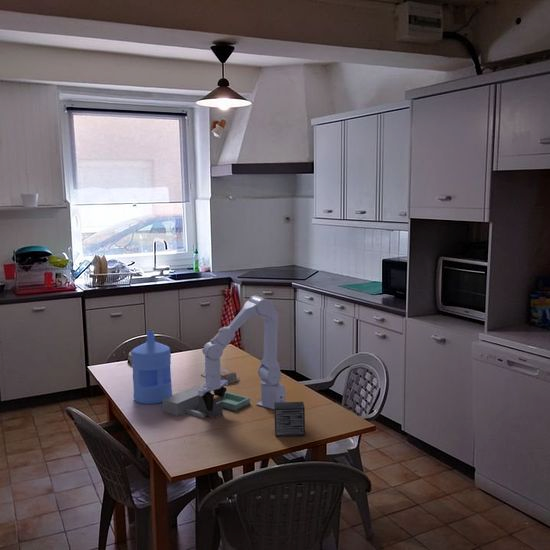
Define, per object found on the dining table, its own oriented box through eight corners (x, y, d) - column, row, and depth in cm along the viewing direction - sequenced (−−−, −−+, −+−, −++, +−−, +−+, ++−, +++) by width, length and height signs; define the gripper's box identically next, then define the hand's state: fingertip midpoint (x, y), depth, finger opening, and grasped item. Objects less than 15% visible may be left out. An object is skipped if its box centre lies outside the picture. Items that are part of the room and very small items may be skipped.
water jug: (127, 397, 240) (123, 331, 236) (160, 388, 250) (158, 325, 246) (144, 407, 228) (141, 339, 224) (179, 398, 238) (177, 332, 234)
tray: (250, 404, 231) (249, 398, 231) (235, 411, 224) (235, 404, 223) (226, 397, 238) (226, 391, 238) (211, 404, 231) (211, 398, 231)
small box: (303, 428, 207) (303, 400, 205) (305, 436, 200) (305, 407, 199) (274, 429, 206) (274, 401, 205) (275, 437, 200) (274, 408, 198)
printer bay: (227, 406, 228) (227, 394, 227) (195, 421, 214) (195, 408, 213) (195, 397, 238) (195, 386, 237) (163, 411, 224) (162, 399, 223)
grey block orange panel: (223, 414, 220) (223, 396, 219) (215, 418, 217) (215, 399, 216) (207, 409, 225) (206, 391, 224) (199, 413, 222) (198, 395, 221)
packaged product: (240, 370, 259) (222, 375, 253) (240, 381, 260) (222, 386, 254) (218, 362, 273) (200, 366, 267) (218, 371, 274) (200, 376, 267)
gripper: (217, 367, 226) (218, 400, 228) (191, 377, 214) (192, 411, 216) (231, 370, 222) (232, 404, 224) (205, 380, 210) (206, 416, 212)
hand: (213, 408), depth 220 cm, fingers closed on grey block orange panel, 4 cm apart
